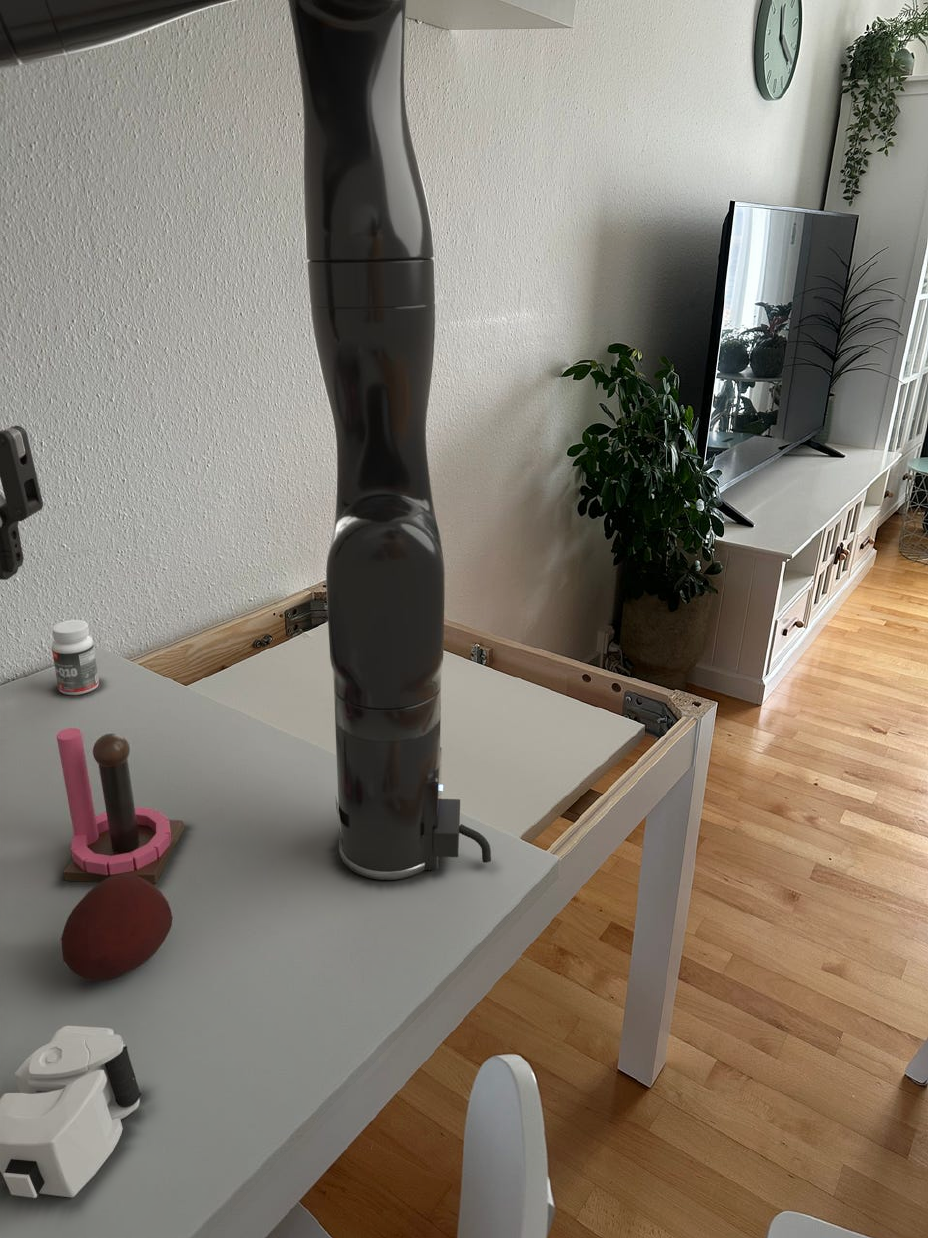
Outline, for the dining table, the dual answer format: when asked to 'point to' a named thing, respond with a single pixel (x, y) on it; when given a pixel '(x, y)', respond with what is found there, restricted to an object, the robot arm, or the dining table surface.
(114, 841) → the stand
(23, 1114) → the white plastic gadget
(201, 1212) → the dining table surface
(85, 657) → the pill bottle
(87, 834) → the pink ring with post
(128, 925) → the potato
